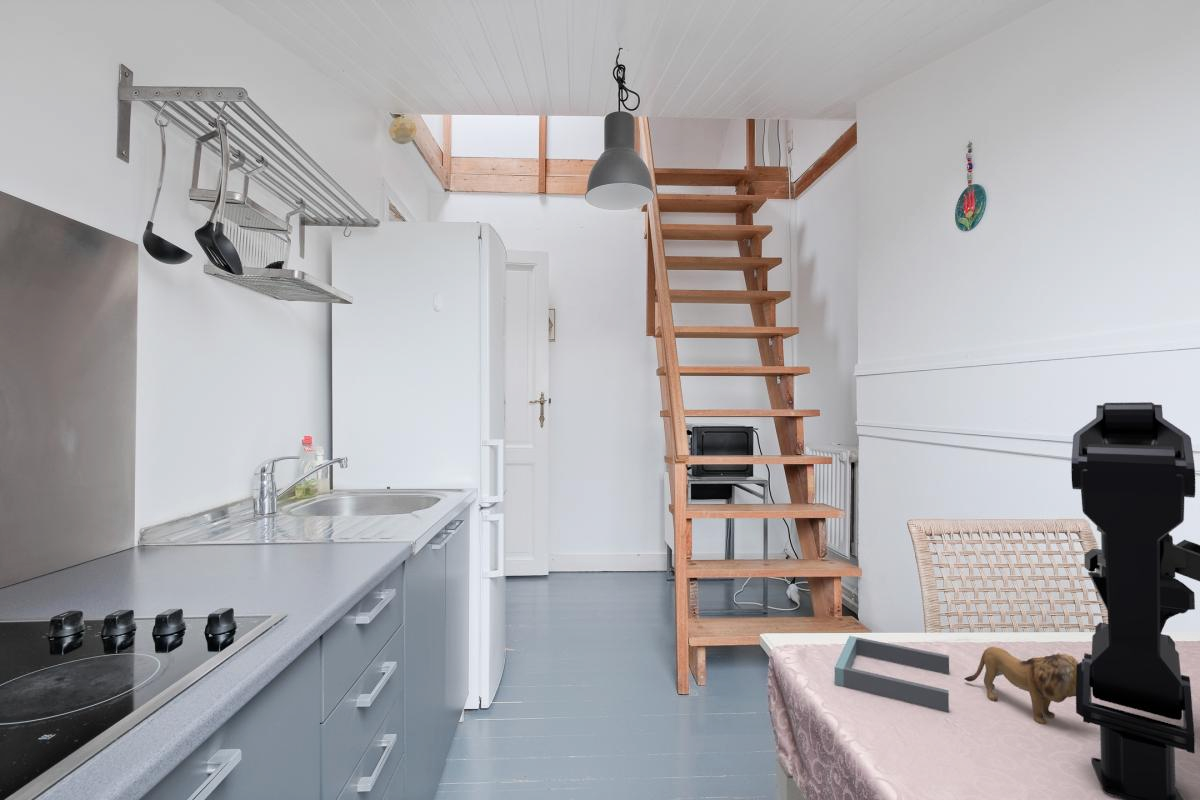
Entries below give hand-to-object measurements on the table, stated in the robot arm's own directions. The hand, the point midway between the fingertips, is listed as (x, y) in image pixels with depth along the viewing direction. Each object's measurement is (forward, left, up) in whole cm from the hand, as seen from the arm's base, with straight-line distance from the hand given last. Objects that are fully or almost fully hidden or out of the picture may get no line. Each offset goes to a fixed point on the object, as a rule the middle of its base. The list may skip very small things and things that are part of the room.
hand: (1133, 644), depth 70 cm
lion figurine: (0, +11, -11) cm, 16 cm away
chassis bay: (0, +27, -11) cm, 29 cm away
